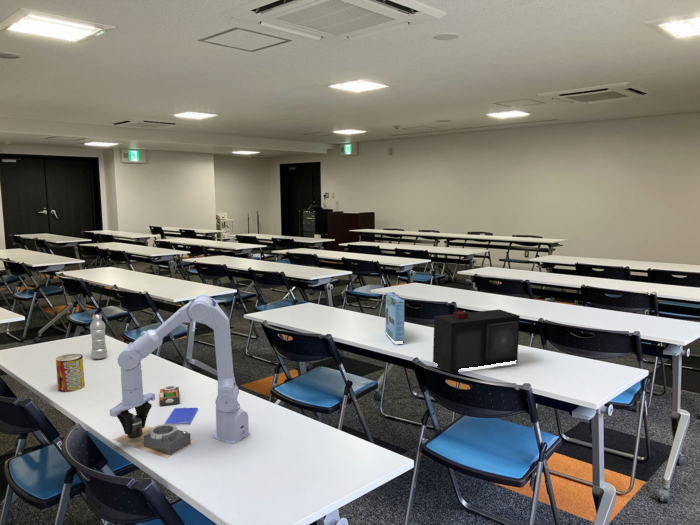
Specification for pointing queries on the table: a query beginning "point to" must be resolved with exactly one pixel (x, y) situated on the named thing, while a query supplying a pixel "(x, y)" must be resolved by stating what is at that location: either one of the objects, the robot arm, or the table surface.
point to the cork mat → (142, 442)
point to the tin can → (70, 372)
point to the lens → (136, 427)
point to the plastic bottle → (98, 337)
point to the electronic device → (169, 395)
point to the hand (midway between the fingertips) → (134, 430)
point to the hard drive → (182, 416)
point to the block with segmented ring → (166, 439)
